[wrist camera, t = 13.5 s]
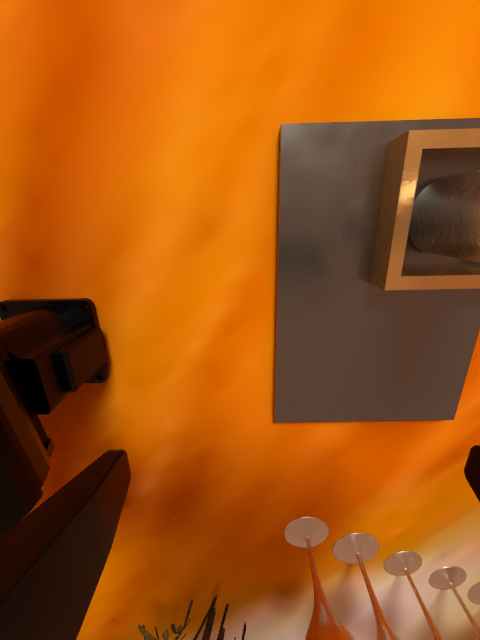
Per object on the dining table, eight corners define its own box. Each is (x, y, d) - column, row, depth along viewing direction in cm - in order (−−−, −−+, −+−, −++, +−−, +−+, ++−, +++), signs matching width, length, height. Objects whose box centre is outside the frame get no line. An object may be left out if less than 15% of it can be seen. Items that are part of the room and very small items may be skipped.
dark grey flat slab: (273, 415, 22) (277, 441, 20) (279, 128, 16) (287, 109, 13) (446, 413, 22) (474, 438, 20) (525, 121, 16) (583, 100, 13)
